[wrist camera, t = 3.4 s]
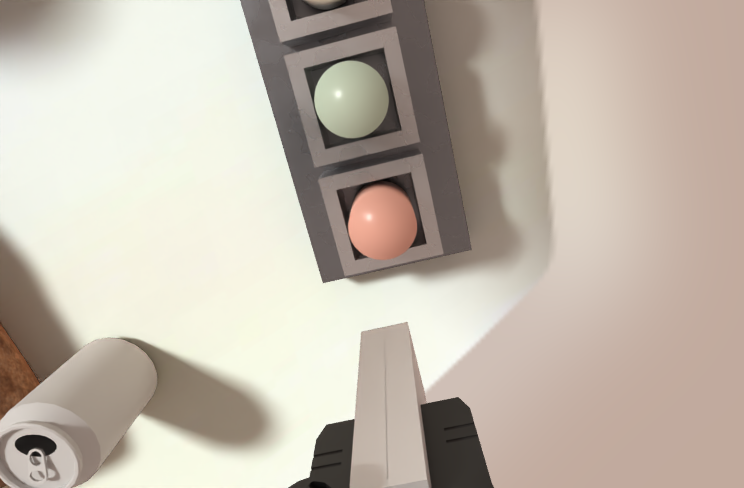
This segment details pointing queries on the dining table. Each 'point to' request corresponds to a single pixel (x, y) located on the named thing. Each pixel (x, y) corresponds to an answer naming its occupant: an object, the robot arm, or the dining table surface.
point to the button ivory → (324, 3)
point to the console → (371, 152)
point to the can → (75, 416)
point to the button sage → (351, 99)
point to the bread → (13, 377)
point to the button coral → (382, 221)
